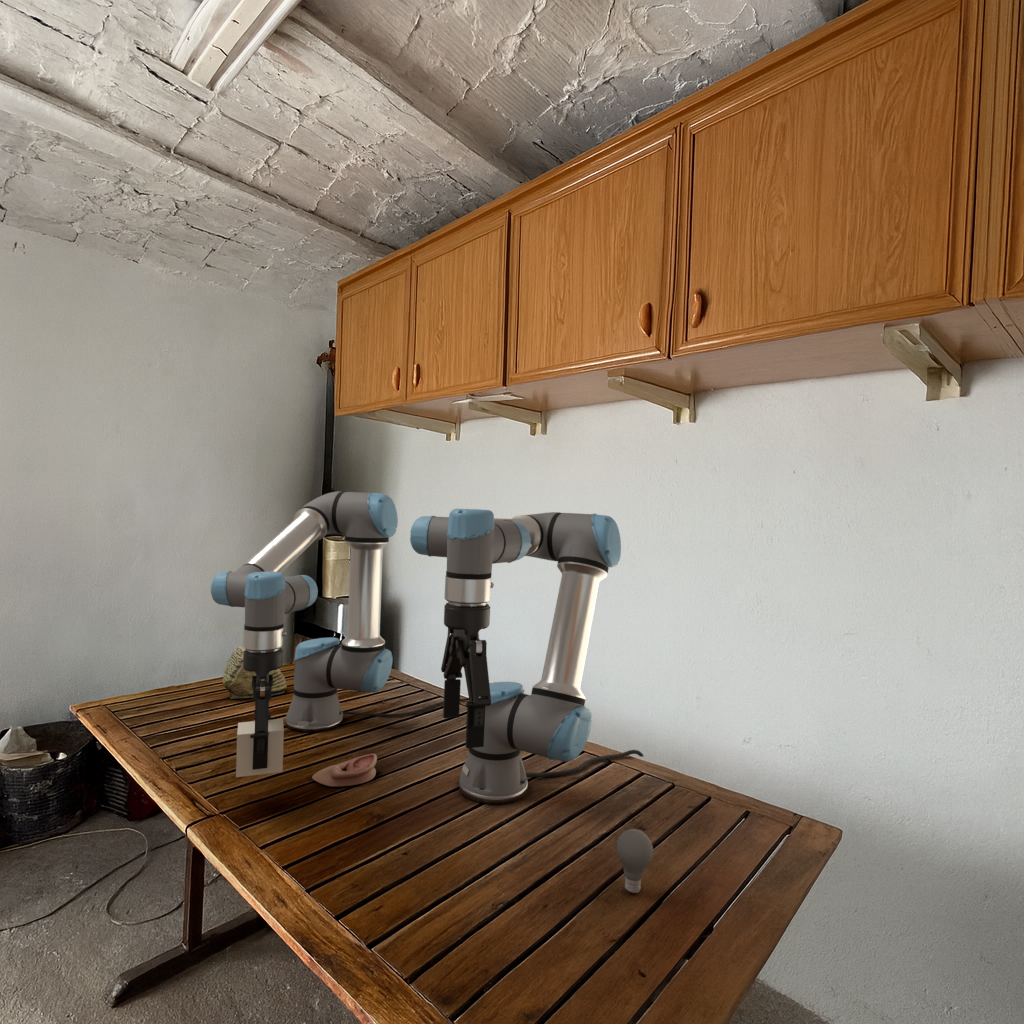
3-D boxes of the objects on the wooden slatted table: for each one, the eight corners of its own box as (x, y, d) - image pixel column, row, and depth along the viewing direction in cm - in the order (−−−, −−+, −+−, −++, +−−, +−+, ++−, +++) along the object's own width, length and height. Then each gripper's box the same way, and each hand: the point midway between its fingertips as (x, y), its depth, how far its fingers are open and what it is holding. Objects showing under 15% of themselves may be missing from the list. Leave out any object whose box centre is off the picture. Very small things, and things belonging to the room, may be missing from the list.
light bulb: (610, 879, 108) (613, 822, 108) (644, 879, 109) (647, 822, 109) (619, 902, 102) (622, 840, 102) (655, 901, 103) (658, 840, 103)
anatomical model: (305, 765, 139) (330, 745, 150) (304, 783, 139) (330, 762, 151) (361, 773, 137) (383, 752, 148) (360, 791, 137) (382, 769, 148)
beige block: (235, 777, 124) (237, 734, 124) (237, 763, 131) (238, 722, 131) (282, 772, 128) (283, 730, 127) (281, 758, 134) (282, 718, 134)
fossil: (218, 695, 195) (220, 647, 195) (278, 685, 208) (279, 640, 207) (228, 703, 189) (230, 653, 188) (289, 692, 201) (290, 645, 201)
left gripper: (284, 660, 121) (280, 779, 121) (281, 636, 139) (278, 740, 140) (242, 662, 118) (238, 784, 119) (244, 638, 136) (241, 743, 137)
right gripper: (516, 616, 94) (510, 758, 94) (467, 591, 117) (462, 705, 117) (467, 617, 91) (461, 764, 91) (427, 591, 114) (422, 708, 115)
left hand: (259, 760), depth 129 cm, fingers closed on beige block, 7 cm apart
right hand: (462, 731), depth 104 cm, fingers open, 13 cm apart
